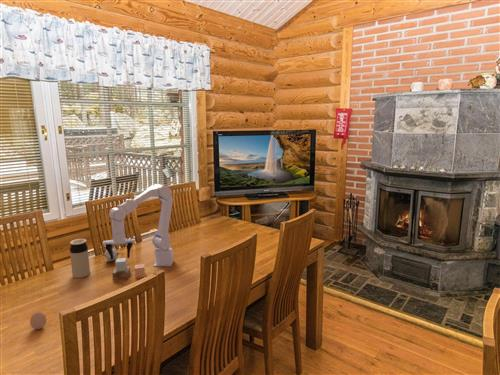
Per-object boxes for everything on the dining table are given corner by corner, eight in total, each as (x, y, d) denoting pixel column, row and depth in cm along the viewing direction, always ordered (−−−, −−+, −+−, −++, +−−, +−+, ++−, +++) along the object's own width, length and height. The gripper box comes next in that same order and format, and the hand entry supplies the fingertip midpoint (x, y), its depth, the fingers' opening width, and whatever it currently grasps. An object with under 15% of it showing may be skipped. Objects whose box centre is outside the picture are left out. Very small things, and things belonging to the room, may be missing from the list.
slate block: (126, 267, 171) (126, 257, 170) (125, 270, 166) (125, 261, 165) (117, 267, 170) (116, 258, 169) (116, 271, 165) (115, 262, 164)
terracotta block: (145, 272, 173) (144, 263, 172) (144, 276, 169) (144, 267, 168) (135, 274, 172) (135, 264, 171) (135, 277, 167) (134, 268, 166)
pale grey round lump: (113, 268, 186) (111, 259, 179) (100, 262, 187) (98, 252, 180) (123, 256, 192) (122, 246, 185) (110, 249, 193) (109, 240, 186)
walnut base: (130, 273, 173) (129, 266, 172) (127, 279, 166) (127, 272, 165) (116, 274, 172) (115, 266, 171) (112, 280, 165) (112, 272, 164)
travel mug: (93, 272, 173) (90, 239, 169) (81, 279, 165) (77, 244, 162) (81, 270, 175) (78, 237, 172) (68, 277, 168) (65, 242, 164)
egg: (27, 330, 125) (25, 314, 123) (40, 323, 129) (38, 307, 128) (37, 333, 123) (35, 317, 122) (50, 326, 128) (48, 309, 126)
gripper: (134, 228, 170) (136, 253, 172) (104, 230, 166) (106, 256, 169) (133, 232, 163) (135, 259, 166) (101, 235, 160) (103, 261, 162)
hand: (120, 257), depth 167 cm, fingers open, 7 cm apart
